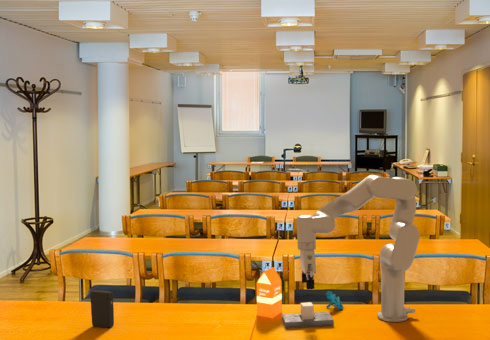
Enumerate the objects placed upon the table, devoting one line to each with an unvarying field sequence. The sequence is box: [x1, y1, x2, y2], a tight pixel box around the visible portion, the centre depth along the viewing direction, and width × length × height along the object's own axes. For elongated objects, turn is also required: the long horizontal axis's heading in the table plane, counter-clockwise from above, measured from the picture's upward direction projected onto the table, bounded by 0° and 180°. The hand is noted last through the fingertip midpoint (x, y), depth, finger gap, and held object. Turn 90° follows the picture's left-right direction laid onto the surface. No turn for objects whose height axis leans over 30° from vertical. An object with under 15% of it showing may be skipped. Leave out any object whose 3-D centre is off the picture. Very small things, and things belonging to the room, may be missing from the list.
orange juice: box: [256, 266, 283, 319], centre depth 263 cm, size 8×9×20 cm
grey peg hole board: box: [281, 311, 335, 329], centre depth 251 cm, size 20×10×2 cm, turn 95°
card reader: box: [90, 289, 115, 328], centre depth 252 cm, size 9×4×15 cm, turn 71°
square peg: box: [300, 301, 315, 320], centre depth 251 cm, size 4×4×8 cm
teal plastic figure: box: [325, 290, 344, 311], centre depth 270 cm, size 11×6×10 cm
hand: (308, 285), depth 250 cm, fingers open, 9 cm apart
